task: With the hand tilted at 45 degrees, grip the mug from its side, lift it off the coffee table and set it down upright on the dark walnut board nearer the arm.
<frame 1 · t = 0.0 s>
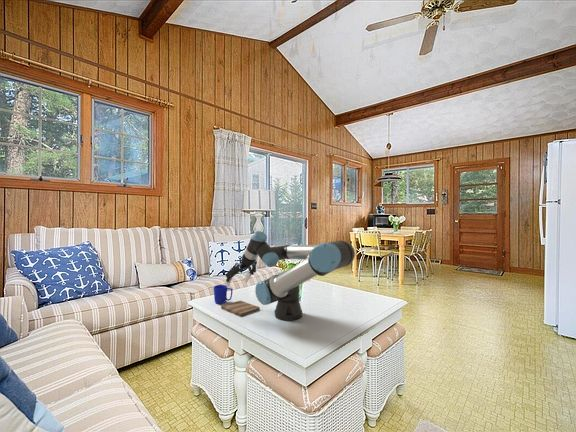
hand: (236, 282, 162), 15 cm above the table, fingers open, 13 cm apart
mug: (223, 303, 174), on the table
walnut board: (240, 309, 162), on the table
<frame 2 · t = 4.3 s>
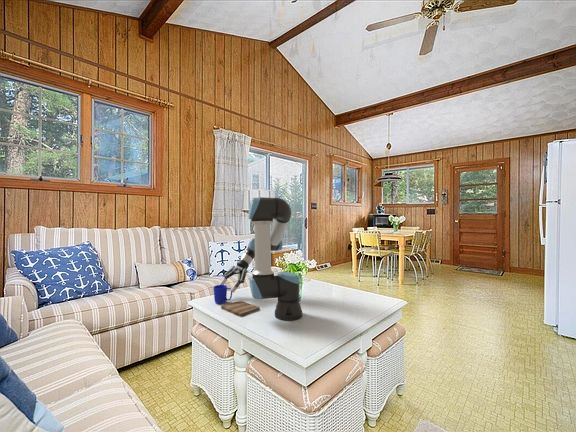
hand: (225, 289, 176), 8 cm above the table, fingers open, 13 cm apart
nothing on the table moved.
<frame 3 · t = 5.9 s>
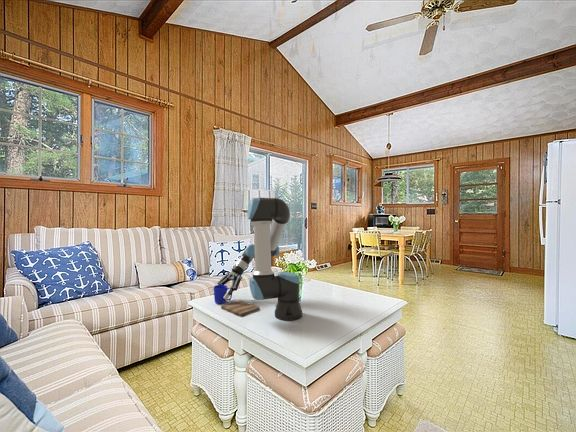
hand: (219, 297, 171), 4 cm above the table, fingers closed on mug, 11 cm apart
mug: (223, 302, 174), on the table, touching gripper
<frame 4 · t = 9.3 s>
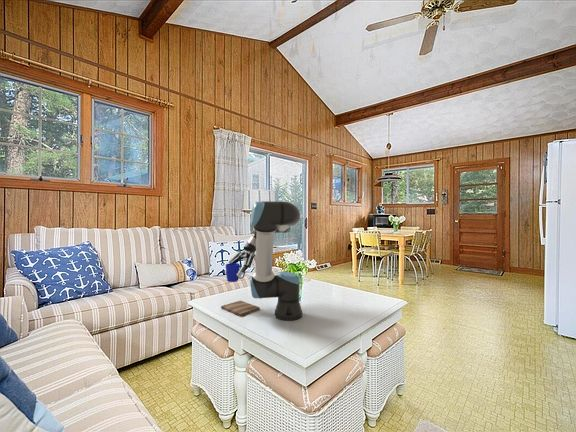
hand: (231, 275, 163), 20 cm above the table, fingers closed on mug, 11 cm apart
mug: (235, 281, 166), point 15 cm above the table, touching gripper
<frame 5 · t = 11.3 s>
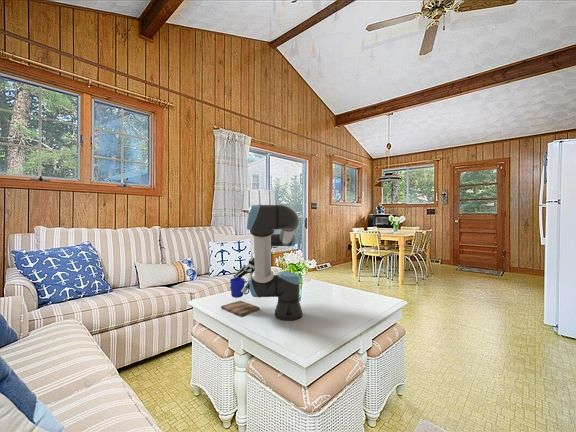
hand: (236, 290, 160), 11 cm above the table, fingers closed on mug, 11 cm apart
mug: (240, 297, 163), point 7 cm above the table, touching gripper
when the fingers open (7 cm above the table, at t = 12.7 s): mug drops 1 cm, resting on walnut board.
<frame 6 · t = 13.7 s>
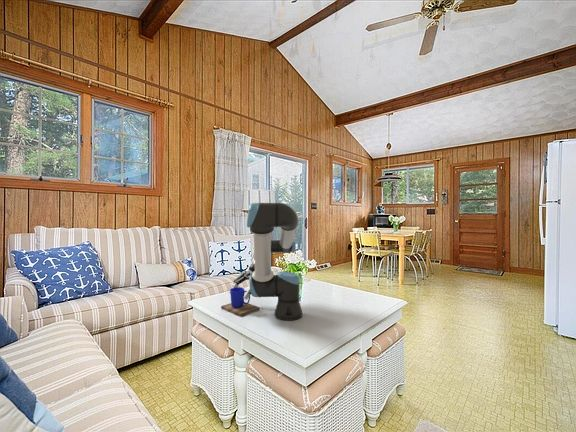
hand: (237, 296, 160), 8 cm above the table, fingers open, 13 cm apart
mug: (240, 306, 162), point 1 cm above the table, touching walnut board
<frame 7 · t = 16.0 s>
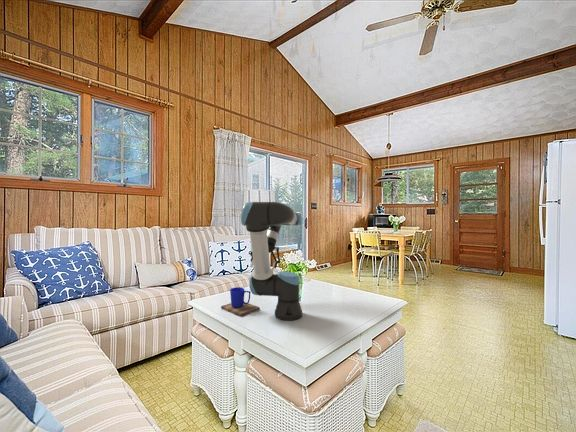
hand: (261, 269, 174), 20 cm above the table, fingers open, 13 cm apart
nothing on the table moved.
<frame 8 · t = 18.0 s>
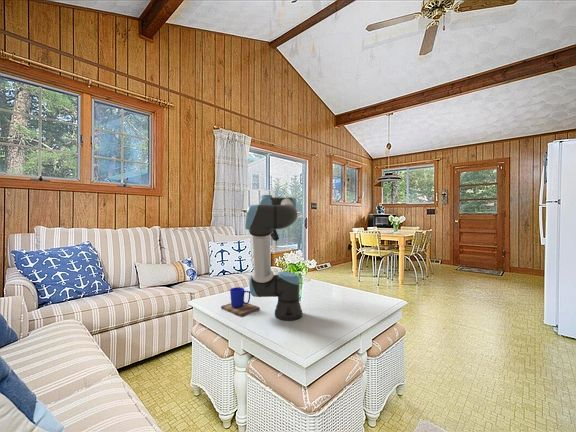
hand: (266, 251, 181), 31 cm above the table, fingers open, 13 cm apart
nothing on the table moved.
at the end: mug inside the target area on the walnut board (0.4 cm from its centre), point 1.3 cm above the walnut board's base; mug tilted 0°; the gripper is holding nothing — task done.
